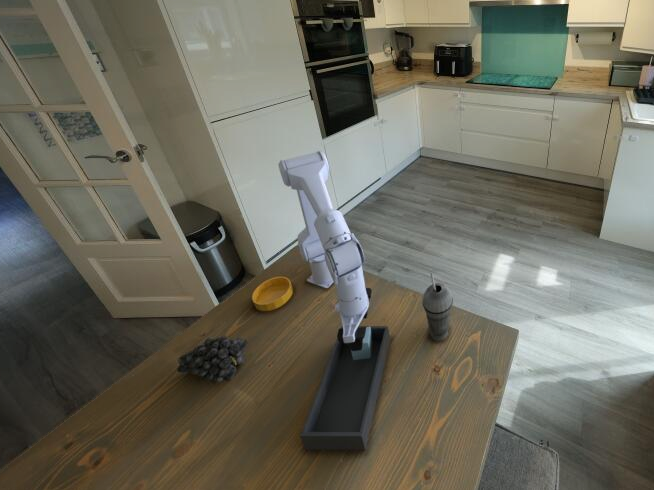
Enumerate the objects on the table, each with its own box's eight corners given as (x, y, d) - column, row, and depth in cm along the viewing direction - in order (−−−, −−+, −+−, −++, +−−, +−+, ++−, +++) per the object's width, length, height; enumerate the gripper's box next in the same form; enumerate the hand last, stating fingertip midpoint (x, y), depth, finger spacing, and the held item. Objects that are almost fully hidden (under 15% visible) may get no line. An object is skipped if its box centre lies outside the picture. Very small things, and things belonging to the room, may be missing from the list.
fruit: (157, 350, 65) (225, 354, 64) (194, 324, 73) (254, 327, 72) (161, 388, 66) (228, 392, 65) (197, 358, 74) (257, 361, 73)
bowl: (276, 280, 93) (274, 273, 92) (300, 289, 90) (298, 282, 89) (247, 305, 85) (243, 298, 84) (272, 316, 82) (269, 309, 81)
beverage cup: (449, 349, 75) (448, 289, 67) (420, 343, 76) (415, 284, 68) (456, 322, 81) (455, 264, 73) (429, 317, 83) (426, 260, 74)
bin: (345, 339, 77) (341, 325, 75) (390, 339, 77) (388, 326, 75) (305, 450, 58) (299, 436, 56) (365, 450, 58) (361, 436, 56)
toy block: (356, 343, 76) (352, 328, 73) (373, 341, 76) (370, 326, 74) (353, 360, 72) (349, 345, 70) (370, 357, 72) (368, 342, 70)
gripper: (339, 266, 72) (347, 307, 77) (322, 324, 59) (334, 368, 64) (370, 263, 73) (376, 303, 78) (360, 319, 59) (369, 363, 65)
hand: (359, 332), depth 71 cm, fingers open, 7 cm apart
